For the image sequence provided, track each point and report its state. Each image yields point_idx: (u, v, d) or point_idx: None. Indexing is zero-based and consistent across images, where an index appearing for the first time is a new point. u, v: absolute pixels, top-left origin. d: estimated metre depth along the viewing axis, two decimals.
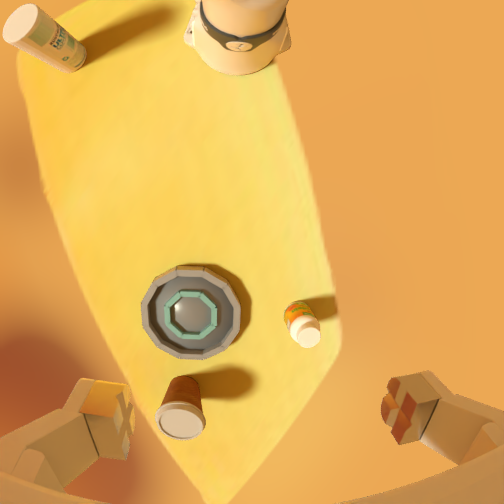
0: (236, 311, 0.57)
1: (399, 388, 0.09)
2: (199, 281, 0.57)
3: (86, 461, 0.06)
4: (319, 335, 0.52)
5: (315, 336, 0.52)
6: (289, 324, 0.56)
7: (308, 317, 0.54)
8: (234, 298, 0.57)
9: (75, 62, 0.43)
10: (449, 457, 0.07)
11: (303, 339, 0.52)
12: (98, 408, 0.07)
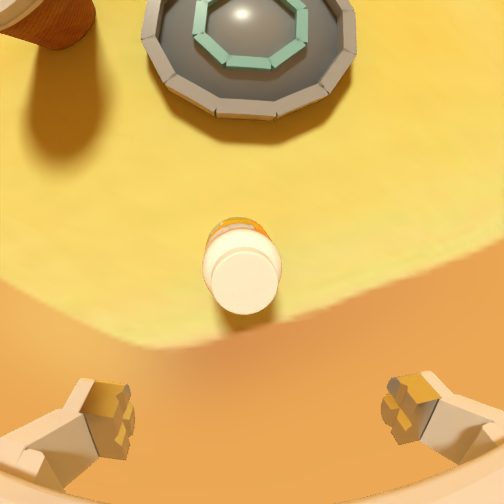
0: (265, 106, 0.23)
1: (399, 388, 0.09)
2: (322, 47, 0.24)
3: (86, 461, 0.06)
4: (250, 311, 0.19)
5: (248, 300, 0.19)
6: (250, 228, 0.22)
7: (280, 273, 0.22)
8: (298, 104, 0.23)
9: None
10: (449, 457, 0.07)
11: (239, 267, 0.19)
12: (98, 408, 0.07)
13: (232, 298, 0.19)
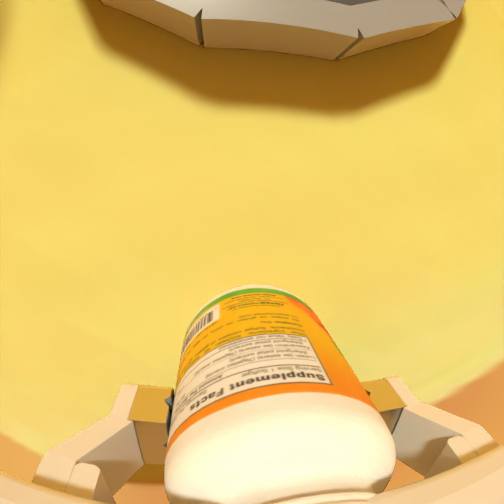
0: (331, 12, 0.07)
1: None
2: None
3: (132, 469, 0.07)
4: None
5: None
6: (310, 369, 0.06)
7: (386, 483, 0.06)
8: (403, 22, 0.08)
9: None
10: (416, 469, 0.07)
11: None
12: (148, 414, 0.07)
13: None
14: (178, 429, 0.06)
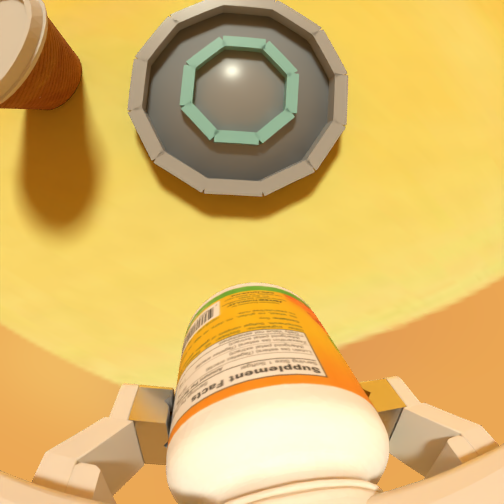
0: (252, 186, 0.25)
1: None
2: (312, 115, 0.26)
3: (132, 469, 0.07)
4: None
5: None
6: (306, 363, 0.07)
7: None
8: (284, 183, 0.26)
9: None
10: (416, 469, 0.07)
11: None
12: (148, 414, 0.07)
13: None
14: (180, 419, 0.06)
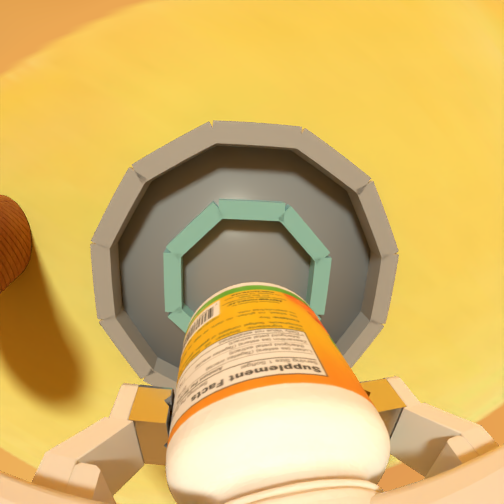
0: None
1: None
2: (343, 305, 0.20)
3: (132, 469, 0.07)
4: None
5: None
6: (306, 362, 0.07)
7: (382, 474, 0.06)
8: None
9: None
10: (416, 469, 0.07)
11: None
12: (148, 414, 0.07)
13: None
14: (179, 419, 0.06)
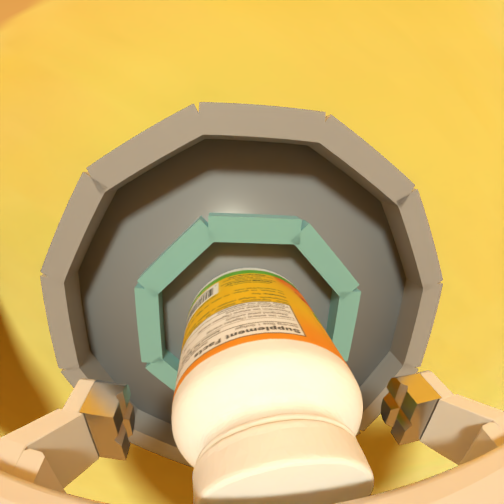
0: None
1: (399, 388, 0.09)
2: (369, 345, 0.16)
3: (86, 461, 0.06)
4: None
5: None
6: (289, 325, 0.09)
7: None
8: None
9: None
10: (449, 457, 0.07)
11: (275, 491, 0.05)
12: (98, 408, 0.07)
13: None
14: (184, 373, 0.08)
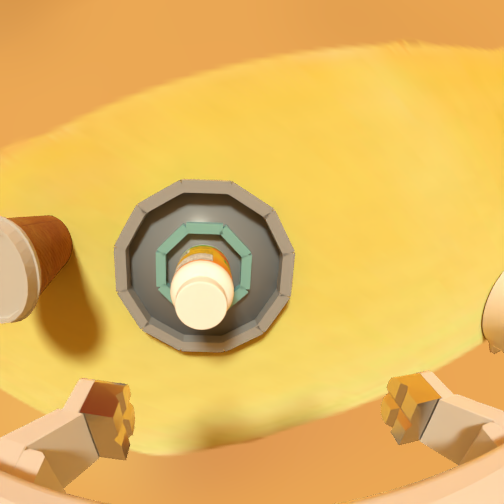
0: (215, 346, 0.34)
1: (399, 388, 0.09)
2: (264, 284, 0.34)
3: (86, 461, 0.06)
4: (206, 327, 0.24)
5: (203, 319, 0.24)
6: (208, 258, 0.27)
7: (232, 296, 0.27)
8: (239, 343, 0.34)
9: None
10: (449, 457, 0.07)
11: (196, 294, 0.24)
12: (98, 408, 0.07)
13: (191, 317, 0.24)
14: (175, 272, 0.27)
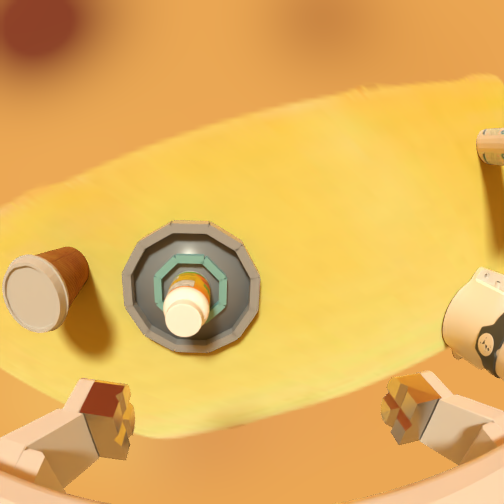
0: (201, 348, 0.43)
1: (399, 388, 0.09)
2: (238, 301, 0.44)
3: (86, 461, 0.06)
4: (187, 335, 0.34)
5: (185, 329, 0.34)
6: (190, 285, 0.37)
7: (207, 313, 0.36)
8: (219, 346, 0.43)
9: (490, 157, 0.40)
10: (449, 457, 0.07)
11: (179, 312, 0.33)
12: (98, 408, 0.07)
13: (177, 328, 0.33)
14: None
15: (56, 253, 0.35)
